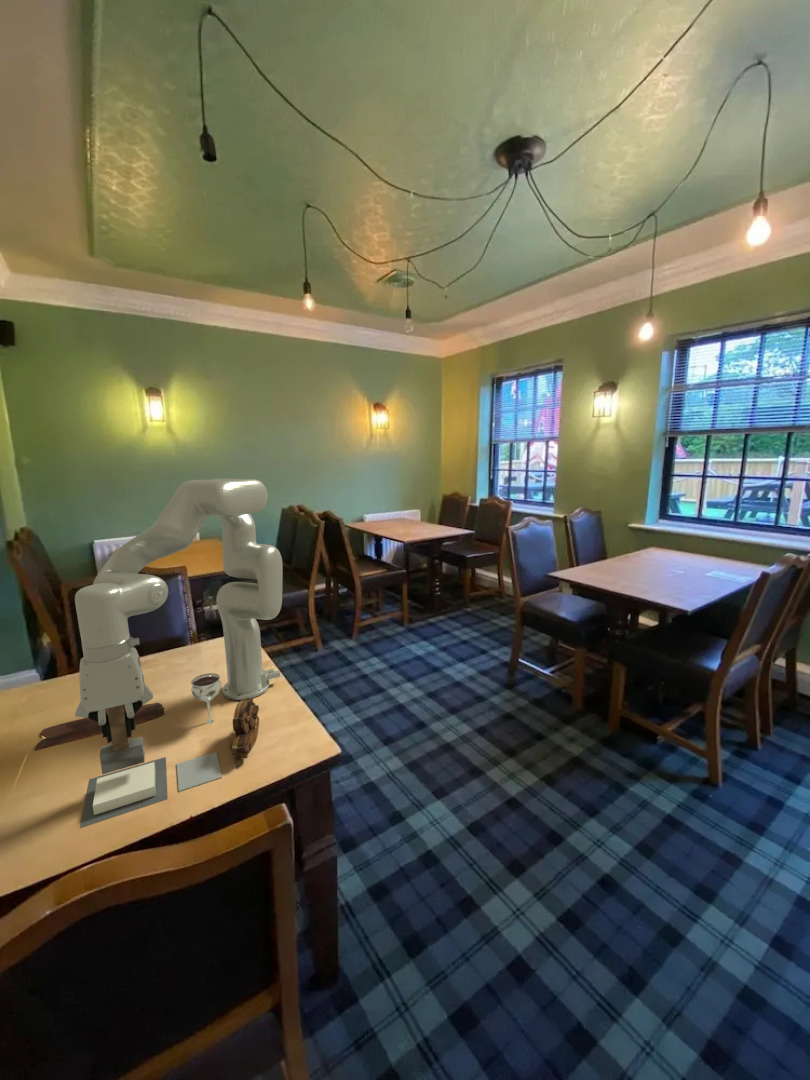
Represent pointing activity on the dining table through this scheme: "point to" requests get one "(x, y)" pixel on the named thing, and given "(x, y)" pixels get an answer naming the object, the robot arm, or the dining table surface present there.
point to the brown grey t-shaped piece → (120, 744)
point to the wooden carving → (245, 727)
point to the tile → (124, 788)
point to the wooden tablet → (90, 727)
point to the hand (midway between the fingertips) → (120, 735)
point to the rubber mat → (160, 796)
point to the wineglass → (206, 689)
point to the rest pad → (198, 771)
